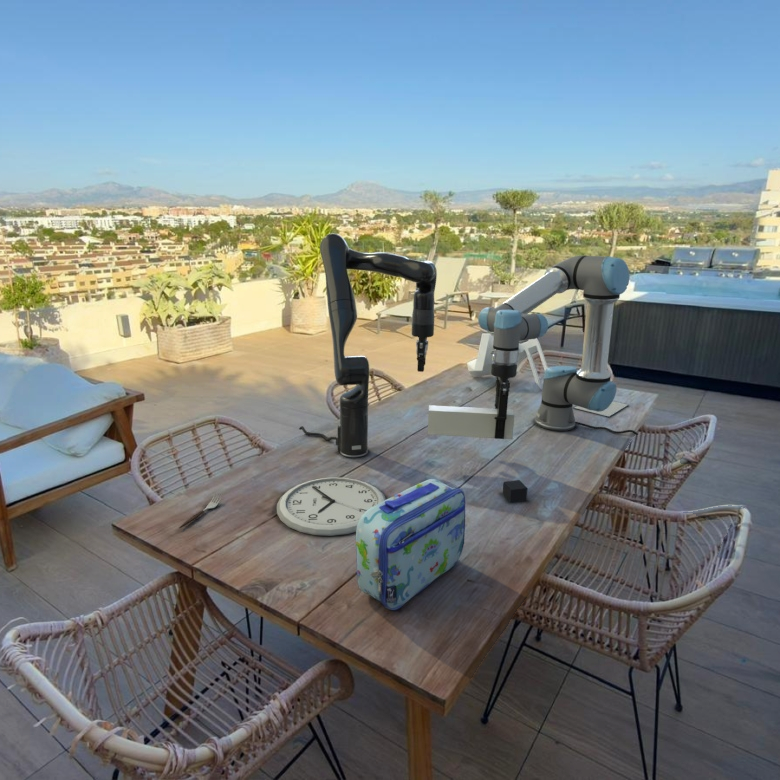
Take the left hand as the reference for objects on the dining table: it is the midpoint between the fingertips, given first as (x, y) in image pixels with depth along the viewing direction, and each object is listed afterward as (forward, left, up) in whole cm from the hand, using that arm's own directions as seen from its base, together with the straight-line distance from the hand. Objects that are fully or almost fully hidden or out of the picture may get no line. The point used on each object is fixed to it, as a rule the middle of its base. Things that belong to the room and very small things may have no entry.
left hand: (421, 368), depth 182 cm
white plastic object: (+3, +85, -26) cm, 89 cm away
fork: (-24, -78, -26) cm, 85 cm away
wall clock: (+2, -55, -26) cm, 61 cm away
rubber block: (+43, -24, -26) cm, 56 cm away
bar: (+24, -13, -15) cm, 31 cm away
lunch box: (+36, -72, -26) cm, 85 cm away
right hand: (+32, -9, -15) cm, 37 cm away
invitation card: (+50, +74, -26) cm, 93 cm away
